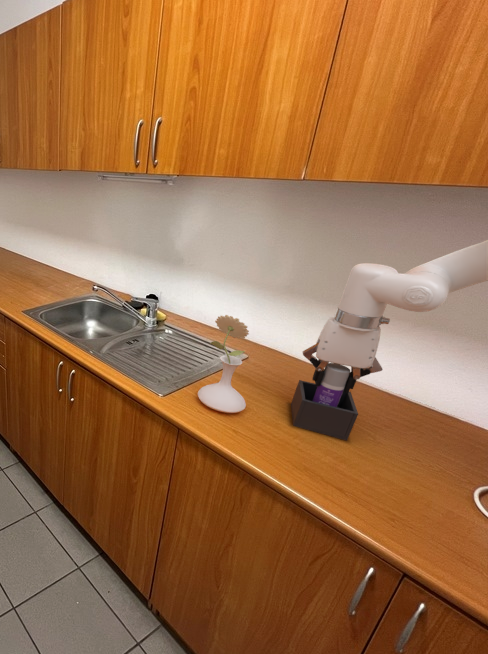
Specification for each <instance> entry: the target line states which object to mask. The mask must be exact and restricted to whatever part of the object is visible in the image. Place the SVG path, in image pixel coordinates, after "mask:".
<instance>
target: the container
mask: <svg viewBox="0 0 488 654" xmlns="http://www.w3.org/2000/svg"><path fill="white" fill-rule="evenodd" d="M350 372H351V368H349V367H348V366H346V365H341V364H336V363H331V362H329V363H328V364H327V365H326V367H325V368H324V376H323V379H322V381H321V384H320V386H318V387H317V389H316V392H315V395H314V398H313V400H312V401H314V402H318V403H322V404H326V405H330V406H334V407H337V405H338V403H339V400H340V398H341V395H342V393H343V390H344V388H345V385H346V382H347V379H348V376H349V373H350Z"/></svg>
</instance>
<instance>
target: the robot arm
mask: <svg viewBox="0 0 488 654" xmlns="http://www.w3.org/2000/svg"><path fill="white" fill-rule="evenodd" d="M485 282H488V239H486V240H484V241H481V242H479V243H475V244H472V245H469V246H466V247H464V248H462V249H457V250H455V251H453V252H450V253H447V254H445V255H442V256H439V257H437V258H434V259H431V260H430V261H427V262H424V263H421V264H420V265H417V266H414V267H412V268H411V269H409V270H407V271H405V272H404V273H400V272H398V270H397V269H396V268H394V267H392V266H389V265H386V264H380V263H372V262H362V263H358V264H355V265H354V266H352V268H351V270H350V271H349V274H348V278H347V280H346V283H345V285H344V288H343V290H342V295H341V297H340V300H339V303H338V305H337V308H336V311H335V314H334V317H333V316H331V317H329V318H328V319H327V320H326V322H325V324H324V325H323V327H322V329H321V332H320V333H319V335H318V337H317V340H316V342H315V344H313V345H311V346H309V347H308V348H306V349H304V350H303V351H302V356H304V358H305V359H306V360H307V361H309V362H310V363H311V365H312V366H313V367H314V368H315V370H314V372H313V375H312V381H314V383H315V385H316V386H320V384H321V381H322V379H323V376H324V369H325V367H326V365H327V364H328V363H336V364H340V365H343V366H346V367H350V373H349V376H348V379H347V382H346V385H345V388H344V392H345V393H349V392H350V390H353V389H354V388H355V386H356V383H357V380H360V379H361V378H362V377H365V376H369V375H370V374H374V373H378V372H382V371H383V367H382V365H381V364H380V362H379V360H378V359H377V357H376V355H377V351H378V348H379V344H380V339H381V333H382V332H381V325H389V323H390V322H391V318H389V317H385V316H383V315H384V313H385V311H386V309H387V308H386V307H387V306H388V305H390V306H393V307H396V308H399V309H402V310H405V311H409V312H414V313H426V312H430V311H434V310H436V309H438V308H440V307H442V305H443V304H444V303H445V302H446V300H447V299H448V296H449V294H451V293H454V292H457V291H460V290H463V289H466V288H468V287H471V286H474V285H479V284H481V283H485ZM315 353H316V354H315ZM314 354H315V356H314Z"/></svg>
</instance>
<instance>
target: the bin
mask: <svg viewBox="0 0 488 654" xmlns="http://www.w3.org/2000/svg"><path fill="white" fill-rule="evenodd" d="M317 387H318V386H316V385H315V382H310V381H305V380H302V379H299V380H298V381H297V384H296V388H295V391H294V394H293V397H292V400H291V403H290V409H291V419H292V425H293V427H296V428H300V429H303V430H308V431H310V432H314V433H318V434H322V435H325V436H329V437H332V438H334V439H335V438H336V439H338V440H339V439H340V440H342V441H348V439H349V437H350V435H351V432H352V430H353V428H354V425H355V423H356V421H357V418H358V416H359V412H358V410H357V406H356V403H355V400H354V398H353V395H352V392H351V391H349V393H345V392H344V390H343V393H342V395H341V398H340V400H339V403H338V405H337V407H334V406H330V405H326V404H322V403H318V402H314V401H312V400H313V398H314V395H315V392H316V389H317Z"/></svg>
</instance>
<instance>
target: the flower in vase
mask: <svg viewBox="0 0 488 654" xmlns="http://www.w3.org/2000/svg"><path fill="white" fill-rule="evenodd" d="M214 322H215V324H216V327H218V329H219V331H221V332H222V333H224V334H226V335H225V338H224V341H223V344H222V343H221V342H219V341H217V340H213V341H210V342H209V344H210V345H213V346H214V347H216V348H217V349H218V350H224V351H225V355H220V357H219V358H220V361H221V364H222V373H221V378H220V380H219V382H215V383H210V384H206V385H204V386H202V387H200V388H199V390H198V392H197V396H198V399H199V401H200V402H201V403H202V404H204V406H206V407H208V408H209V409H212V410H214V411H217V412H220V413H224V414H225V413H226V414H236V413H240V412H242V411H244V410H245V409H246V407H247V404H246V400H245V398H244V397H243V396H242V395H241V394H240V392H239V391H237V390H236V389H235V388H234V387H233V386H232V378H233V375H234V373H235V371H236V369H237V368H238V367H239V366H241V365H242V364H243V360H241V358H239V357H237V356H240V355H243V354H244V353H245V352H246V350H236V349H235V350H233V351H231V352H229V353H228V350H227V347H226V342H227V339H228V337H231V338H234V339H246V337H248V335H250V330H248V325H246V324H245V323H244V322H241V321H240V318H238V317H235V318H234V317H233V316H232V315H230V316H229V314H225V315H220V316H217V318H216V320H215V321H214Z"/></svg>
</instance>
